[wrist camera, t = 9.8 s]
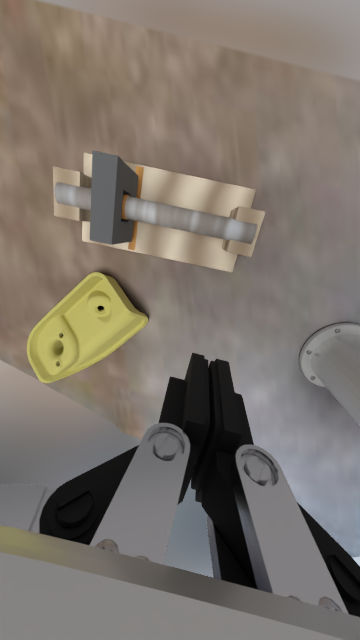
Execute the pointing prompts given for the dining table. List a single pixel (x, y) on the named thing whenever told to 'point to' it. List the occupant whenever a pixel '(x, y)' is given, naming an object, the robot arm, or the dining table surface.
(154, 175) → the pipe stand
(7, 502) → the robot arm
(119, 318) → the plastic component
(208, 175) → the dining table surface
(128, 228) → the collar
